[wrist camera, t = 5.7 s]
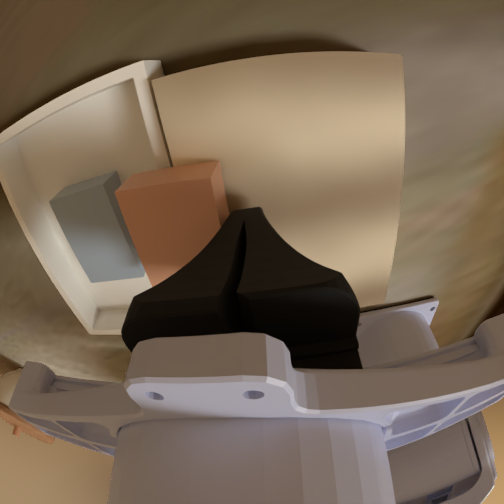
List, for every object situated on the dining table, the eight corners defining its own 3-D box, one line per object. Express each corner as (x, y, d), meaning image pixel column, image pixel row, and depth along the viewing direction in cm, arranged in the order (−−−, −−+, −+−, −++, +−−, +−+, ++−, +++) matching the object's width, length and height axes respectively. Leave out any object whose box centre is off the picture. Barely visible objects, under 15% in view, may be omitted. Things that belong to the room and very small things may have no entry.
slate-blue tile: (91, 283, 16) (101, 265, 18) (143, 277, 16) (151, 258, 17) (48, 201, 13) (64, 187, 14) (103, 184, 12) (116, 170, 14)
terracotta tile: (240, 273, 15) (236, 299, 13) (168, 276, 15) (158, 300, 14) (219, 160, 11) (210, 177, 10) (132, 173, 12) (114, 192, 10)
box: (226, 301, 20) (224, 329, 18) (99, 311, 21) (90, 334, 19) (160, 60, 11) (143, 60, 9) (11, 130, 12) (-14, 143, 10)
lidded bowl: (9, 375, 34) (-9, 423, 25) (-1, 346, 28) (-27, 405, 19) (66, 406, 38) (52, 456, 30) (67, 385, 32) (48, 450, 23)
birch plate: (370, 272, 19) (384, 303, 17) (227, 291, 20) (224, 325, 17) (374, 54, 11) (401, 54, 8) (170, 76, 12) (151, 80, 9)
